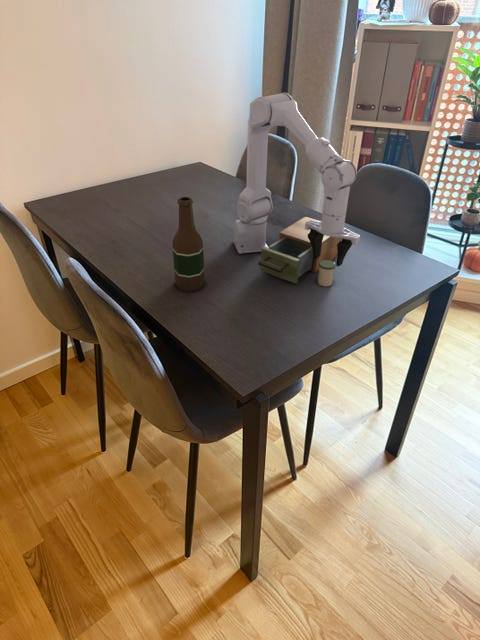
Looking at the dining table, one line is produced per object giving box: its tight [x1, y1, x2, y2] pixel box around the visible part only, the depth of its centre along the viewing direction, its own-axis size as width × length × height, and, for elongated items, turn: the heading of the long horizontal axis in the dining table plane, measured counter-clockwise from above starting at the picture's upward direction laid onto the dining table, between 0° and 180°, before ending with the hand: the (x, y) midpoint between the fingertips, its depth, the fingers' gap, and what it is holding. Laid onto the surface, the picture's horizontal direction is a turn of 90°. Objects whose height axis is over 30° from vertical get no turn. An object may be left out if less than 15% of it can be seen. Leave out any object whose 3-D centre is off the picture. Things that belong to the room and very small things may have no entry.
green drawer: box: [257, 236, 314, 284], centre depth 131 cm, size 18×11×7 cm, turn 143°
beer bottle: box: [172, 196, 205, 292], centre depth 122 cm, size 8×8×24 cm
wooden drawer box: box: [278, 216, 342, 273], centre depth 140 cm, size 14×13×9 cm
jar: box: [317, 260, 337, 287], centre depth 128 cm, size 4×4×6 cm
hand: (327, 260), depth 126 cm, fingers open, 6 cm apart
